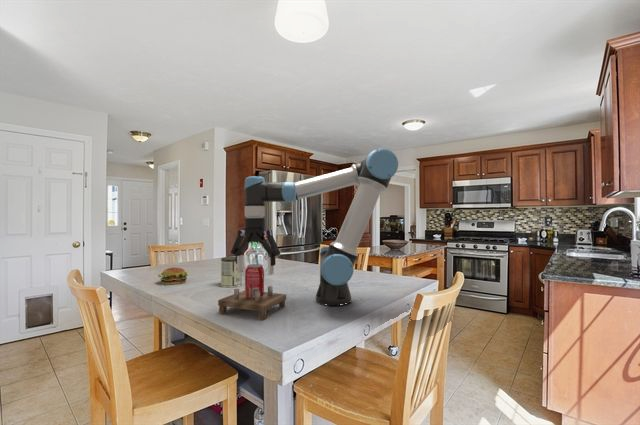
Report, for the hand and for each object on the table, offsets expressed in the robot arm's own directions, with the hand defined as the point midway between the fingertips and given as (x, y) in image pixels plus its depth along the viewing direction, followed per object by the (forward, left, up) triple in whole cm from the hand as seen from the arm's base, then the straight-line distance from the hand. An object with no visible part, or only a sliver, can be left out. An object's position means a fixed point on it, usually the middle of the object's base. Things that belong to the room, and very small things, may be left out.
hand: (255, 273), depth 117 cm
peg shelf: (0, 0, -14) cm, 14 cm away
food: (+66, -25, -14) cm, 72 cm away
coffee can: (+34, -32, -14) cm, 49 cm away
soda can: (0, 0, -9) cm, 9 cm away
